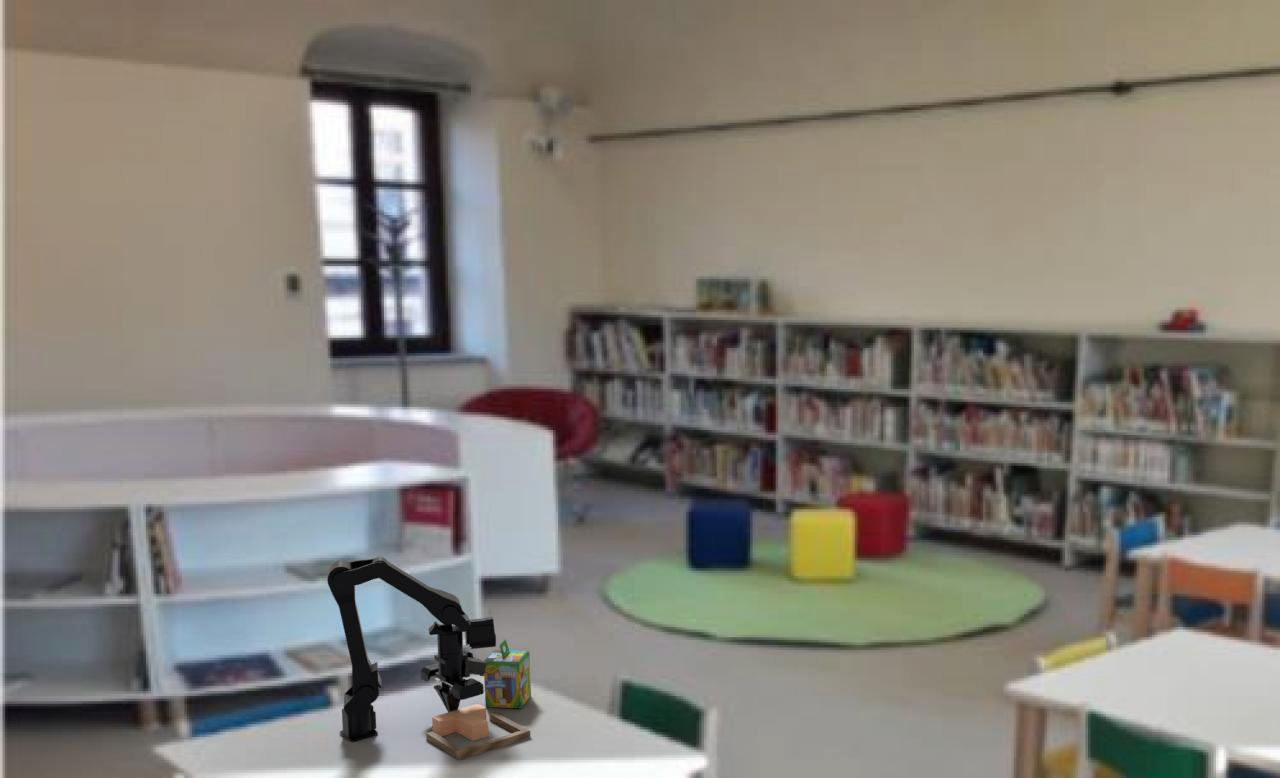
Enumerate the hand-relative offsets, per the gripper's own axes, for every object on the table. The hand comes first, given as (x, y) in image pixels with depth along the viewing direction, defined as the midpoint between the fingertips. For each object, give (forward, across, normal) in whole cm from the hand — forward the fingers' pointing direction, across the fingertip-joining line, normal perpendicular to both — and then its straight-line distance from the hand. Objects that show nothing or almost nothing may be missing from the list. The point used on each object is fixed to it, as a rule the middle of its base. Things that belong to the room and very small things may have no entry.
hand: (453, 716), depth 258 cm
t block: (+2, -6, 0) cm, 6 cm away
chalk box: (+2, +3, -17) cm, 17 cm away
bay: (+2, -11, 0) cm, 11 cm away
